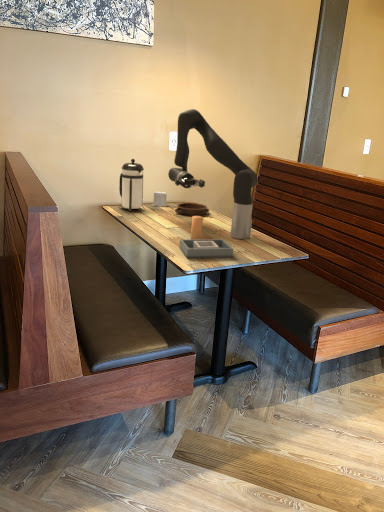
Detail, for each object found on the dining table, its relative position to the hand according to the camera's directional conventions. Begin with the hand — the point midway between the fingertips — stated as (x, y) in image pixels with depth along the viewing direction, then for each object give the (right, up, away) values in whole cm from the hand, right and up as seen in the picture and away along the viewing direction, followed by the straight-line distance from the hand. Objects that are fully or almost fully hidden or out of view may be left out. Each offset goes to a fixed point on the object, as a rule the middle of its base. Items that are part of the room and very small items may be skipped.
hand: (193, 185), depth 199 cm
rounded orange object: (+1, -27, -2) cm, 27 cm away
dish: (-1, -8, +54) cm, 55 cm away
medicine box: (-21, -2, +68) cm, 72 cm away
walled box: (+5, -32, -17) cm, 37 cm away
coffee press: (-38, -5, +54) cm, 66 cm away
